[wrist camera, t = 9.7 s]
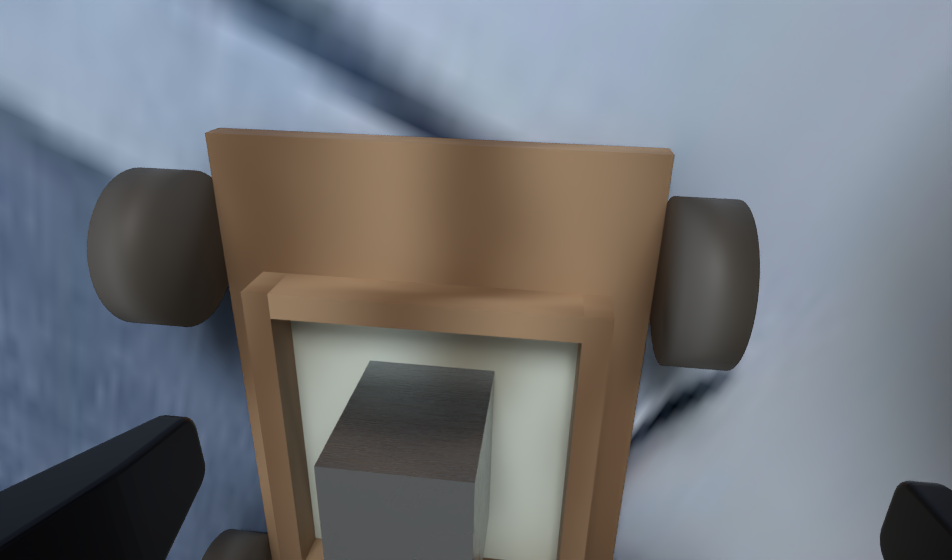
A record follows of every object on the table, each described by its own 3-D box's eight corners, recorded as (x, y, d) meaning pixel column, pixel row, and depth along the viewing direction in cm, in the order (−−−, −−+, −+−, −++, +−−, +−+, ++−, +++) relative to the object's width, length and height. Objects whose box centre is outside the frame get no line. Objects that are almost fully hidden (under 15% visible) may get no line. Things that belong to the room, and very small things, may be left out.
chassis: (730, 151, 17) (782, 196, 13) (636, 645, 25) (651, 767, 21) (168, 125, 18) (60, 159, 14) (253, 596, 27) (199, 700, 23)
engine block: (494, 371, 19) (475, 483, 15) (489, 515, 22) (470, 649, 17) (369, 360, 20) (314, 466, 15) (378, 503, 22) (331, 632, 18)
